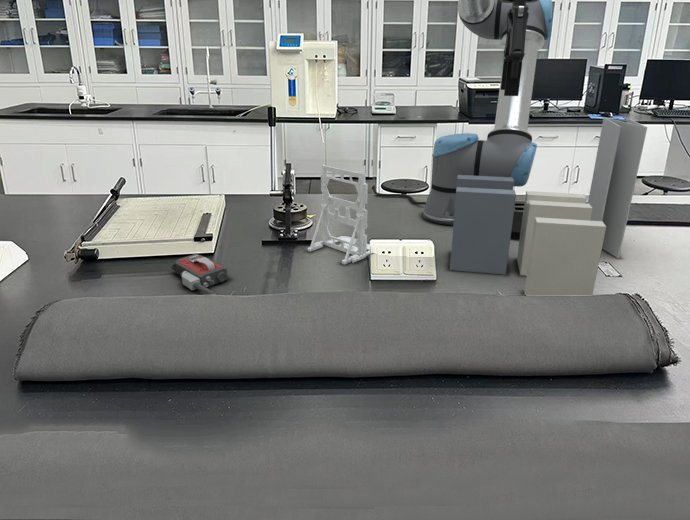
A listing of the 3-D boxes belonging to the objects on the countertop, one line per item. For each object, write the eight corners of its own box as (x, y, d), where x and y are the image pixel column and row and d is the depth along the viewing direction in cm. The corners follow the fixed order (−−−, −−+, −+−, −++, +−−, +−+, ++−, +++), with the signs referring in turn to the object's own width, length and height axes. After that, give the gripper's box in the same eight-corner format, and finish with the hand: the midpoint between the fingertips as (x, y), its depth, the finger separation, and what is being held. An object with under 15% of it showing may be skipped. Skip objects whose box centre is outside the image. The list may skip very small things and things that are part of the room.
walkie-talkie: (163, 274, 115) (212, 305, 102) (160, 256, 114) (210, 284, 101) (199, 263, 121) (250, 291, 108) (196, 245, 119) (249, 271, 106)
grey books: (505, 274, 115) (516, 189, 108) (449, 270, 118) (456, 186, 110) (503, 256, 125) (512, 177, 117) (451, 252, 127) (457, 174, 120)
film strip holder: (386, 249, 129) (389, 168, 121) (347, 266, 120) (347, 179, 112) (343, 235, 138) (343, 159, 130) (304, 249, 129) (301, 168, 121)
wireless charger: (472, 222, 148) (473, 215, 147) (524, 215, 154) (525, 208, 153) (513, 244, 132) (514, 236, 132) (569, 235, 138) (570, 227, 138)
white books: (579, 280, 113) (592, 205, 106) (520, 275, 115) (530, 202, 109) (571, 263, 121) (584, 194, 114) (516, 259, 123) (526, 190, 117)
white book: (590, 305, 102) (606, 226, 96) (525, 299, 105) (536, 221, 98) (587, 298, 105) (602, 221, 99) (524, 292, 107) (535, 217, 101)
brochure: (619, 258, 124) (647, 127, 112) (593, 256, 125) (619, 126, 113) (604, 237, 137) (628, 118, 125) (581, 236, 138) (603, 117, 126)
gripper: (498, -14, 117) (488, 87, 125) (505, -27, 94) (492, 98, 102) (534, -15, 115) (522, 87, 123) (550, -28, 93) (533, 99, 101)
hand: (508, 92), depth 113 cm, fingers open, 13 cm apart
